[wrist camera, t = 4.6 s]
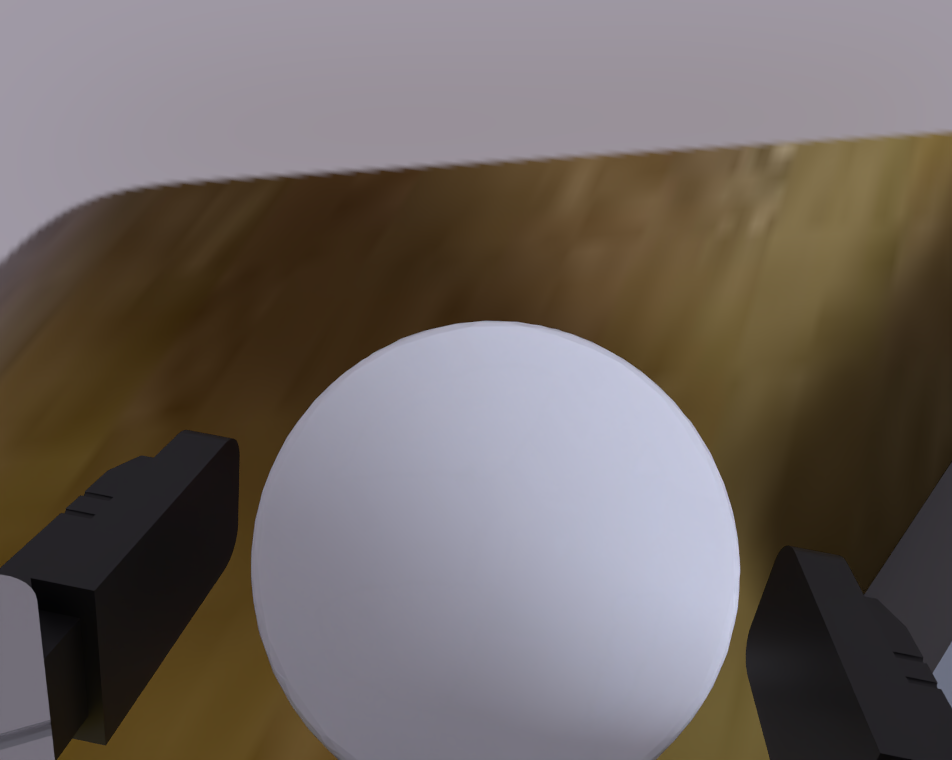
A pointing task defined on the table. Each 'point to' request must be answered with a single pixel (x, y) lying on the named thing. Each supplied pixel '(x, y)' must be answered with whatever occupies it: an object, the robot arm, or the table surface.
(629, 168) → the table surface
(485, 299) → the table surface
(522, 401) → the pill bottle
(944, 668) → the bin
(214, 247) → the table surface
